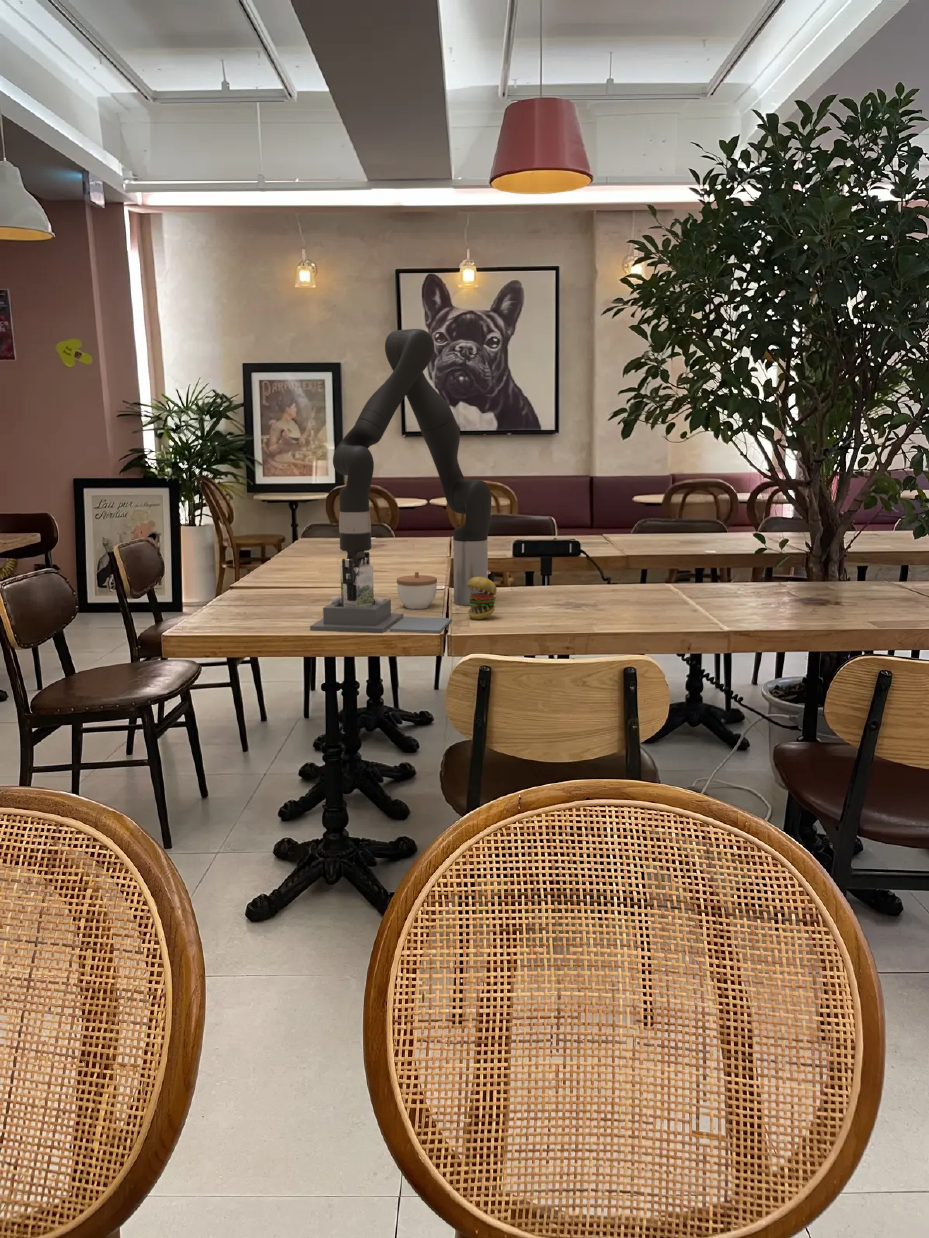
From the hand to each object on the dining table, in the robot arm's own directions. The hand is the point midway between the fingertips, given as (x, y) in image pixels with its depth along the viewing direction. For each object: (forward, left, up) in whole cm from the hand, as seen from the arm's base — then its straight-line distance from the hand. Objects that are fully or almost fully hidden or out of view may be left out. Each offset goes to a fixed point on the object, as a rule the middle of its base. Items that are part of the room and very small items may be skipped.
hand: (357, 597), depth 219 cm
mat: (0, +16, -6) cm, 17 cm away
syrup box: (0, 0, -7) cm, 7 cm away
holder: (0, 0, -6) cm, 6 cm away
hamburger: (-11, +29, -7) cm, 31 cm away
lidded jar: (-23, +9, -7) cm, 26 cm away
